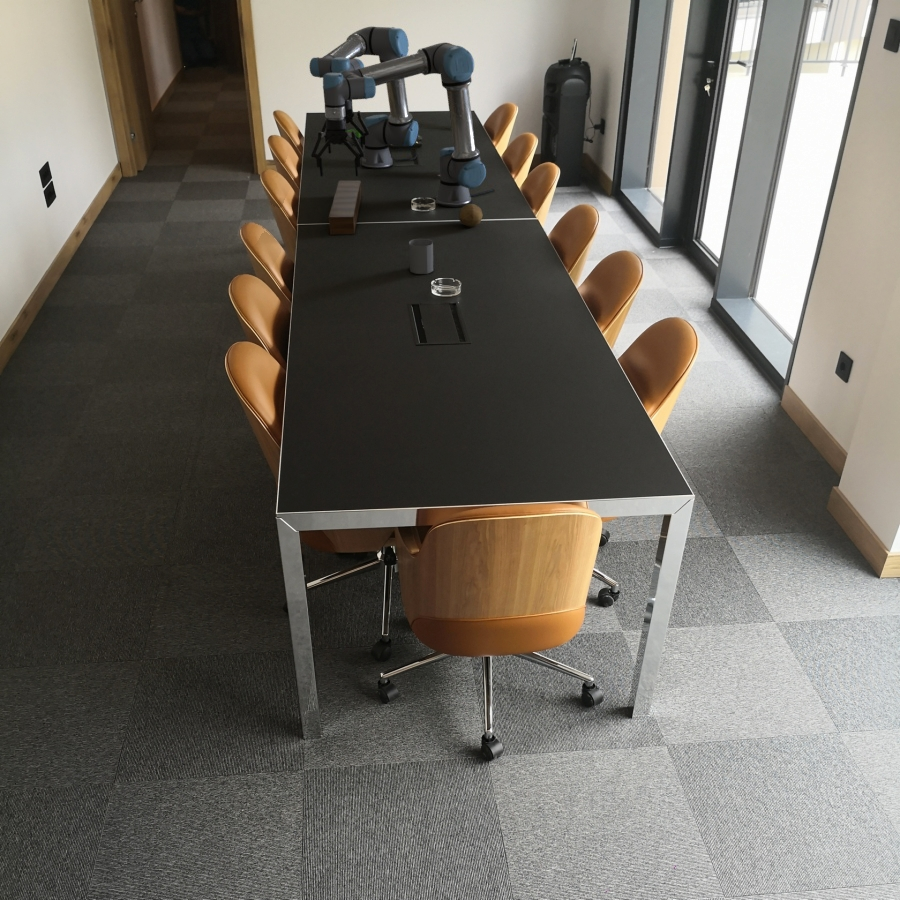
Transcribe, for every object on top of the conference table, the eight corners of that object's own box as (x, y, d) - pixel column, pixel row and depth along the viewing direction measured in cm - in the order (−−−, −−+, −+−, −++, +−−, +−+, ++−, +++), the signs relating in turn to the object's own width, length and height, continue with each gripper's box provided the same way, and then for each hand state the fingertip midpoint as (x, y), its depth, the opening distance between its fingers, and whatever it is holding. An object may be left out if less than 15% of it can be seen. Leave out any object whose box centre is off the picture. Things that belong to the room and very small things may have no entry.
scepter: (397, 126, 468) (342, 124, 466) (397, 141, 461) (341, 139, 459) (397, 135, 473) (342, 133, 471) (397, 150, 466) (341, 148, 463)
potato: (480, 219, 356) (481, 200, 351) (484, 230, 344) (484, 210, 340) (457, 220, 355) (457, 200, 351) (459, 231, 343) (459, 211, 339)
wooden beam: (339, 196, 384) (338, 180, 380) (361, 196, 384) (360, 180, 380) (329, 234, 340) (328, 217, 337) (354, 234, 341) (353, 216, 337)
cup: (409, 265, 311) (408, 238, 306) (432, 265, 312) (431, 238, 307) (410, 274, 304) (409, 246, 299) (433, 273, 305) (433, 246, 299)
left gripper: (311, 101, 351) (315, 154, 362) (372, 100, 351) (375, 154, 363) (313, 97, 357) (317, 150, 369) (373, 97, 358) (376, 150, 369)
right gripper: (300, 120, 321) (306, 178, 332) (368, 120, 321) (371, 177, 333) (303, 116, 327) (308, 173, 339) (369, 115, 328) (372, 172, 339)
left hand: (346, 152), depth 366 cm, fingers open, 13 cm apart
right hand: (339, 175), depth 336 cm, fingers open, 13 cm apart
